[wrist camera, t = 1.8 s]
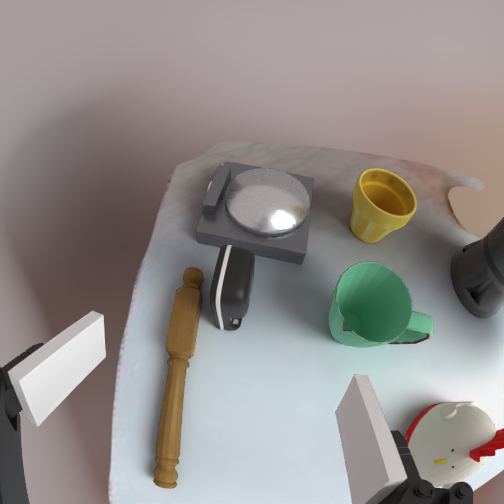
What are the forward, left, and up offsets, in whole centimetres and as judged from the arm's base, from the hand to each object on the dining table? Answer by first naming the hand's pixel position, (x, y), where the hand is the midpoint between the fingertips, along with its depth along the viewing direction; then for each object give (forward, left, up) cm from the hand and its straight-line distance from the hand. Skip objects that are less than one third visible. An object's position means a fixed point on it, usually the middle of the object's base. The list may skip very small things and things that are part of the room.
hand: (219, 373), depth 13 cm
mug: (-16, -11, -22) cm, 29 cm away
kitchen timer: (-32, +6, -22) cm, 39 cm away
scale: (+2, -28, -22) cm, 36 cm away
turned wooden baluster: (+7, 0, -22) cm, 23 cm away
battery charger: (+2, -11, -22) cm, 25 cm away
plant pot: (-17, -30, -22) cm, 41 cm away
